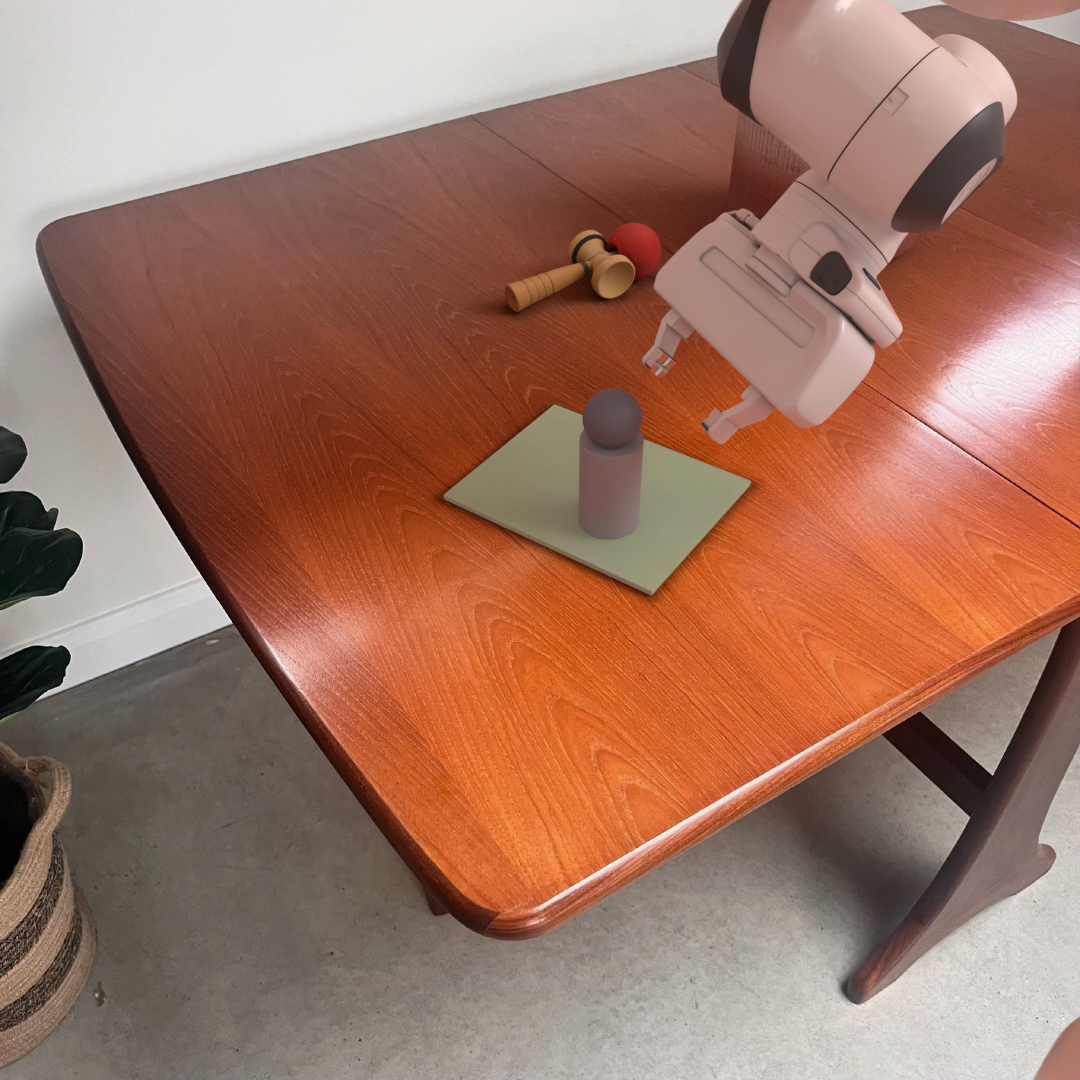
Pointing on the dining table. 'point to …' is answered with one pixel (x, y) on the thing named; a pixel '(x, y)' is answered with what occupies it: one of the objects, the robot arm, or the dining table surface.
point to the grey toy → (610, 464)
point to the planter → (768, 173)
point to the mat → (553, 501)
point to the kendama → (595, 265)
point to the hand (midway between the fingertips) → (679, 402)
